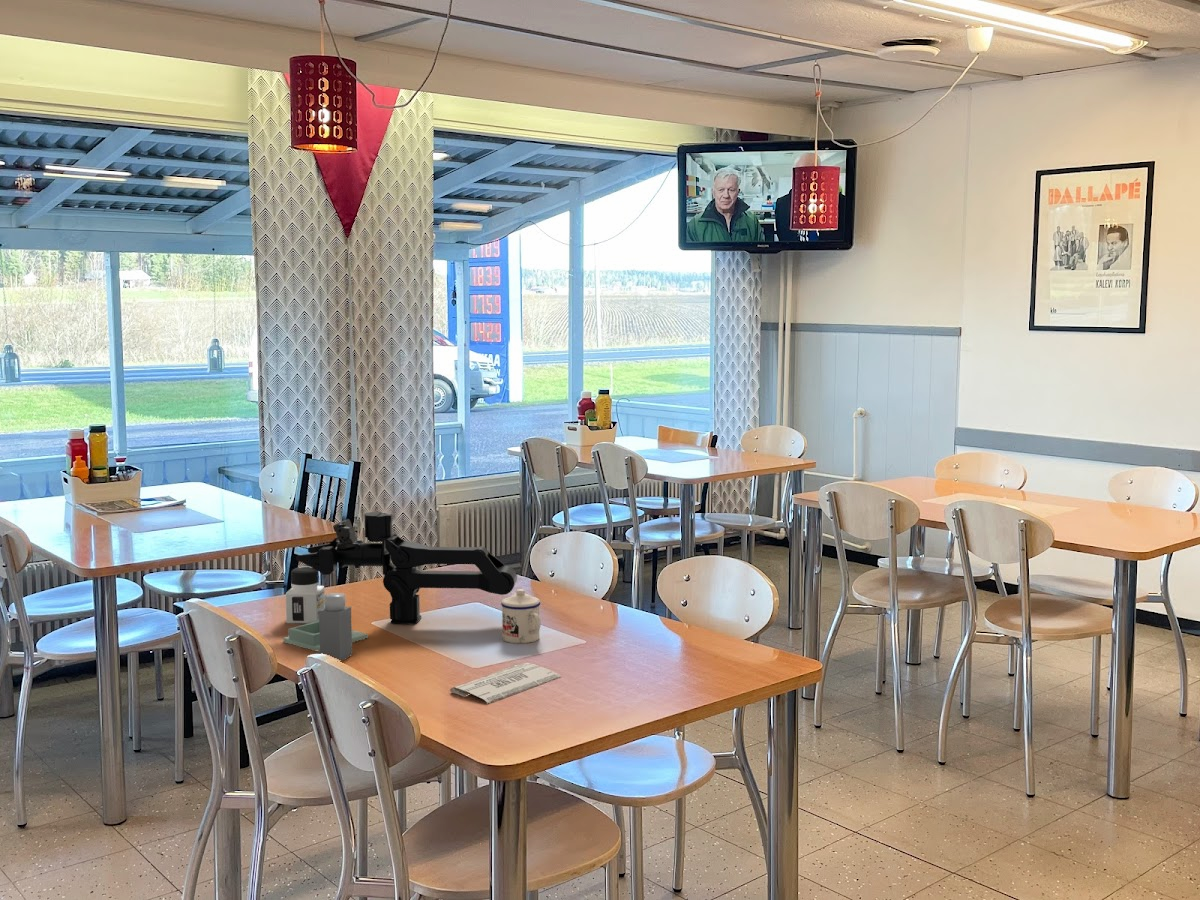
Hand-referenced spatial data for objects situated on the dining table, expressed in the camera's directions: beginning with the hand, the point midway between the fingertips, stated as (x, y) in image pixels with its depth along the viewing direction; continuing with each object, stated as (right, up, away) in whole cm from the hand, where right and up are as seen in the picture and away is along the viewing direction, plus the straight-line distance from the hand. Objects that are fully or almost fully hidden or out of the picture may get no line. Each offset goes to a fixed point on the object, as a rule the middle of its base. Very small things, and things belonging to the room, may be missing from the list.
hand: (302, 553), depth 285 cm
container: (0, -17, +2) cm, 17 cm away
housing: (+9, -19, -16) cm, 26 cm away
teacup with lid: (+56, -19, -15) cm, 61 cm away
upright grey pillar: (+15, -20, -29) cm, 38 cm away
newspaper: (+53, -24, -47) cm, 75 cm away
